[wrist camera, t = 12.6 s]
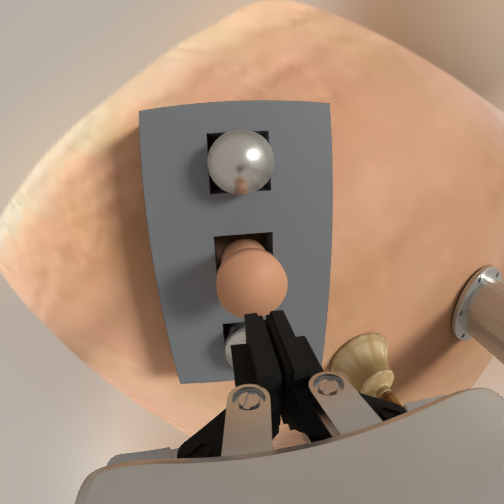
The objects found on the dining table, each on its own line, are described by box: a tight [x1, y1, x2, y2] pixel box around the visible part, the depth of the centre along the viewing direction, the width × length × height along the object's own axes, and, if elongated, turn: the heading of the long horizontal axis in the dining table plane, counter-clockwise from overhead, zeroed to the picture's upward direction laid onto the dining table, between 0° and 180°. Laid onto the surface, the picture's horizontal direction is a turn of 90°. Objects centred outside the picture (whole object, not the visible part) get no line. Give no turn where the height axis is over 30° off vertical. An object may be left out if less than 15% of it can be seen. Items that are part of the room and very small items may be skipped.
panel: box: [139, 100, 333, 384], centre depth 24 cm, size 14×24×4 cm, turn 3°
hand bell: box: [330, 333, 401, 405], centre depth 24 cm, size 8×8×16 cm
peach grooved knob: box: [216, 238, 288, 318], centre depth 20 cm, size 4×4×5 cm
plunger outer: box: [207, 129, 274, 195], centre depth 20 cm, size 4×4×5 cm
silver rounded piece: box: [225, 321, 266, 367], centre depth 25 cm, size 4×4×5 cm
